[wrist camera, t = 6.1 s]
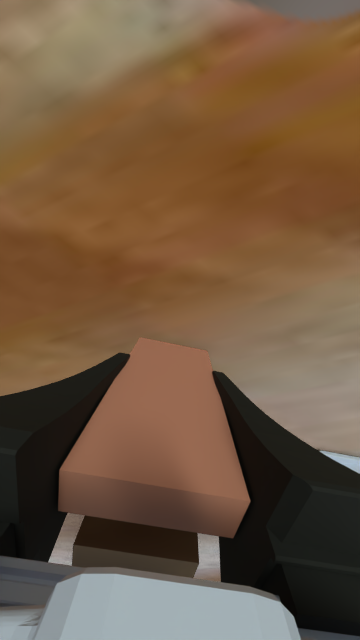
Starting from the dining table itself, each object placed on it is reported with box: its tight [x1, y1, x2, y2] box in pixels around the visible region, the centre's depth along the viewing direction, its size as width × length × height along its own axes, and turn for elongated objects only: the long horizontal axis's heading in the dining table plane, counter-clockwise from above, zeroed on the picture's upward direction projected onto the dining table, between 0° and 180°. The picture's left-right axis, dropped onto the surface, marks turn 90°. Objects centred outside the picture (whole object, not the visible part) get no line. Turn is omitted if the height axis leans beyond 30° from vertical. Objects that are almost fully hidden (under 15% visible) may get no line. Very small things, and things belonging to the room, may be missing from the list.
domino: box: [72, 515, 199, 578], centre depth 12 cm, size 2×5×9 cm, turn 78°
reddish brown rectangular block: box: [58, 337, 250, 538], centre depth 9 cm, size 2×5×9 cm, turn 78°
